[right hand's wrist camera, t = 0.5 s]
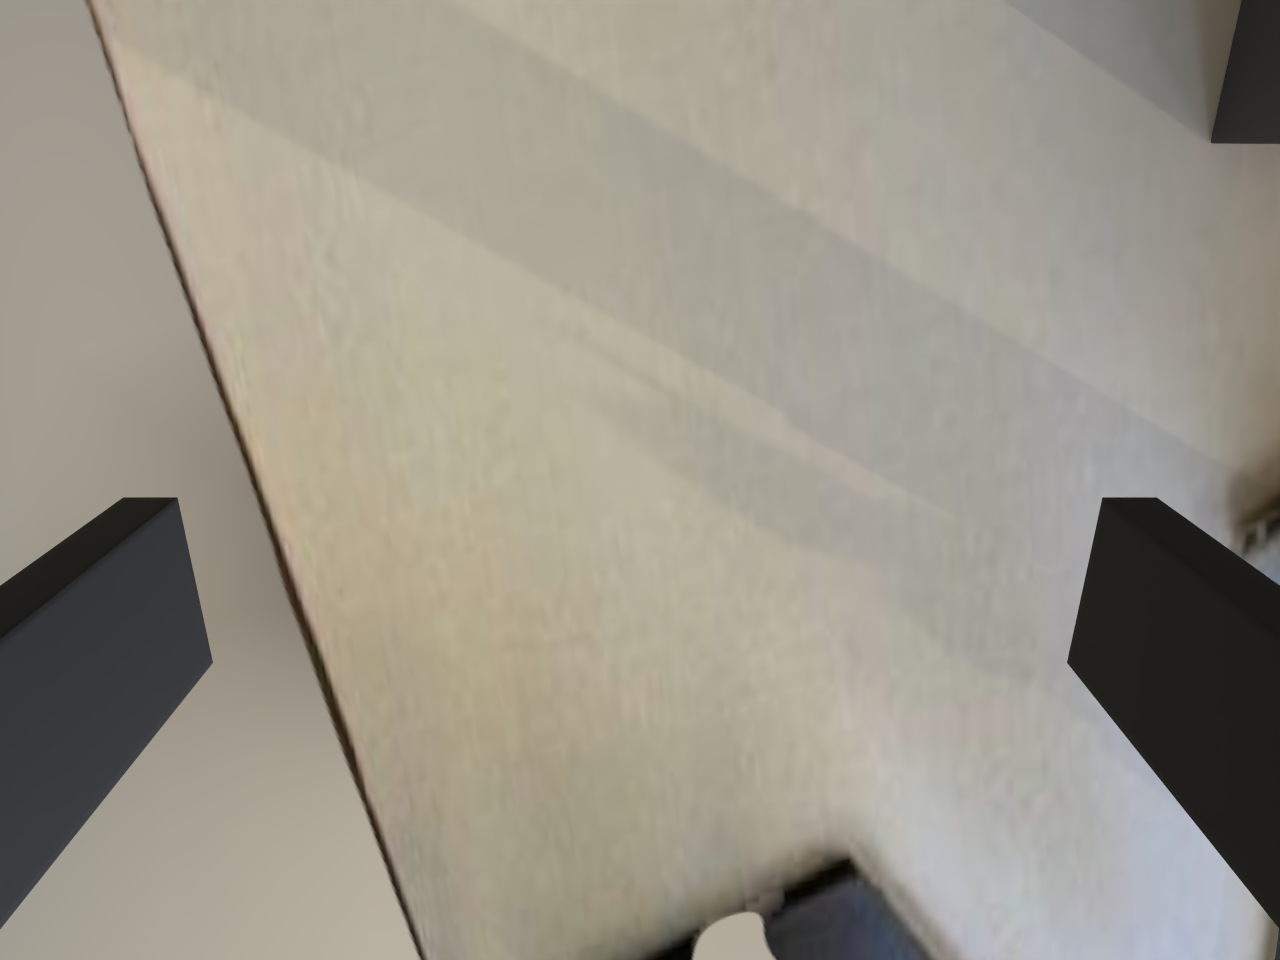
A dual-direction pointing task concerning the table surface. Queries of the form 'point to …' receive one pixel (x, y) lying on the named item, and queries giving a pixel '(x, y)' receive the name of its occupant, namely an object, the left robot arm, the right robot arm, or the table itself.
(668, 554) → the table surface
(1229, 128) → the box
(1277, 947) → the left robot arm
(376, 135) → the table surface
